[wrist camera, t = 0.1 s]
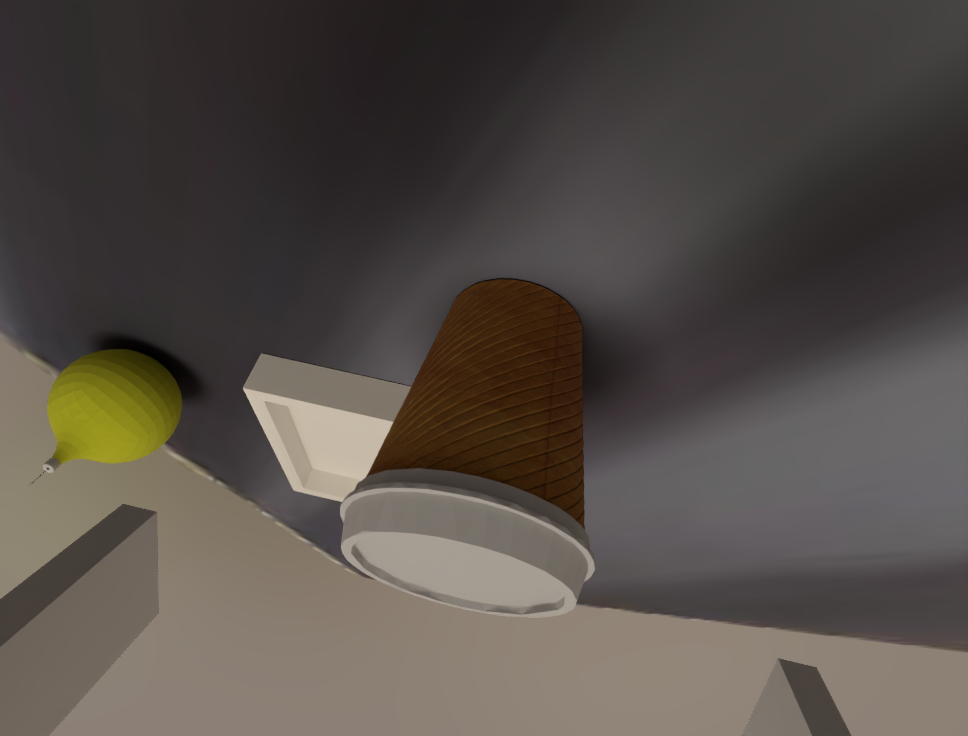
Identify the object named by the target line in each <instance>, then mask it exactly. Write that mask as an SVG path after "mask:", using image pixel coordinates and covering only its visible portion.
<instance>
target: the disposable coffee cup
mask: <svg viewBox="0 0 968 736" xmlns="http://www.w3.org/2000/svg"><path fill="white" fill-rule="evenodd" d="M582 335H583V333H582V325H581V322H580V319H579V317H578V315H577V313H576V312H575V310H574V309H573V308H572V307H571V306H570V305H569V304H568V303H567V302H566V301H565V300H564V299H562V298H561V297H559V296H558V295H556V294H555V293H553V292H552V291H550V290H548V289H546V288H544V287H541V286H538V285H535V284H532V283H529V282H524V281H518V280H506V279H498V280H491V281H484V282H481V283H477V284H475V285H473V286H471V287H469V288H467V289H466V290H464V291H463V292H462V293H461V294H460V295H459V296H458V297H457V298H456V299H455V301H454V303H453V305H452V307H451V309H450V311H449V313H448V315H447V317H446V319H445V321H444V323H443V325H442V327H441V329H440V331H439V333H438V335H437V337H436V339H435V341H434V343H433V345H432V347H431V349H430V351H429V353H428V355H427V357H426V359H425V361H424V363H423V365H422V366H421V369H420V371H419V373H418V375H417V376H416V378H415V381H414V383H413V385H412V386H411V388H410V391H409V393H408V395H407V396H406V398H405V400H404V402H403V405H402V407H401V408H400V410H399V412H398V414H397V416H396V418H395V420H394V422H393V424H392V426H391V428H390V430H389V432H388V434H387V436H386V438H385V440H384V442H383V444H382V446H381V448H380V450H379V452H378V455H377V457H376V458H375V460H374V462H373V464H372V466H371V468H370V470H369V472H368V474H367V476H366V478H364V479H363V480H362V481H360V482H359V483H357V485H356V487H355V490H354V491H352V492H350V493H349V494H348V495H347V496H346V497H345V498H344V500H343V502H342V504H341V507H340V516H341V518H342V520H343V522H344V526H343V534H342V541H341V548H342V553H343V555H344V556H345V558H346V559H347V560H348V561H349V562H350V563H351V564H352V565H354V566H355V567H356V568H358V569H359V570H361V571H362V572H364V573H365V574H367V575H369V576H371V577H373V578H374V579H376V580H378V581H380V582H382V583H384V584H386V585H389V586H392V587H394V588H396V589H399V590H401V591H404V592H406V593H409V594H412V595H415V596H418V597H421V598H424V599H427V600H431V601H434V602H437V603H441V604H445V605H449V606H453V607H457V608H460V609H465V610H470V611H476V612H481V613H486V614H494V615H501V616H514V617H531V618H535V617H551V616H556V615H562V614H564V613H567V612H569V611H571V610H572V609H573V608H574V607H575V605H576V602H577V599H578V597H579V594H580V591H581V588H582V585H583V583H584V581H586V580H587V579H589V578H590V577H591V576H592V574H593V572H594V570H595V560H594V554H593V552H592V551H591V550H590V544H589V537H588V535H587V533H586V532H585V527H584V479H583V477H584V467H583V461H584V454H583V446H584V442H583V398H582V397H583V387H582V384H583V377H582V372H583V367H582Z"/></svg>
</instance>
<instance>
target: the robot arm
mask: <svg viewBox="0 0 968 736" xmlns="http://www.w3.org/2000/svg"><path fill="white" fill-rule="evenodd" d="M157 539H158V538H157V512H155V511H151V510H146V509H142V508H138V507H134V506H130V505H125V504H122V505H121V506H120V507H118V508H117V509H116V510H115V511H113V512H112V513H111V514H109V515H108V516H107V517H106V518H105V519H103V520H102V521H101V522H99V523H98V524H97V525H95V526H94V527H93V528H92V529H90V530H89V531H88V532H86V533H85V534H84V535H82V536H81V537H80V538H79V539H77V540H76V541H75V542H73V543H72V544H71V545H70V546H69V547H67V548H66V549H64V550H63V551H62V552H61V553H59V554H58V555H57V556H55V557H54V558H53V559H52V560H50V561H49V562H48V563H47V564H45V565H44V566H43V567H41V568H40V569H39V570H37V571H36V572H35V573H34V574H32V575H31V576H30V577H28V578H27V579H26V580H25V581H23V582H22V583H21V584H19V585H18V586H17V587H15V588H14V589H13V590H12V591H10V592H9V593H8V594H6V595H5V596H4V597H3V598H1V599H0V736H49V735H50V734H51V733H52V732H53V731H54V729H55V728H56V727H57V726H58V725H59V724H60V722H62V720H63V719H64V718H65V717H66V716H67V715H68V714H69V713H70V711H71V710H72V709H73V708H74V707H75V706H76V705H77V704H78V703H79V701H80V700H81V699H82V698H83V697H84V696H85V695H86V694H87V693H88V691H89V690H90V689H91V688H92V687H93V686H94V685H95V683H96V682H97V681H98V680H99V679H100V678H101V677H102V676H103V675H104V674H105V672H106V671H107V670H108V669H109V668H110V667H111V666H112V665H113V664H114V662H115V661H116V660H117V659H118V658H119V657H120V656H121V654H122V653H123V652H124V651H125V650H126V649H127V648H128V647H129V646H130V645H131V643H132V642H133V641H134V640H135V639H136V638H137V637H138V636H139V634H140V633H141V632H142V631H143V630H144V629H145V628H146V627H147V626H148V624H149V623H150V622H151V621H152V620H153V619H154V618H155V616H156V615H157V614H158V612H159V608H158V607H159V605H158V548H157V547H158V540H157ZM742 736H851V734H850V732H849V730H848V728H847V726H846V725H845V722H844V721H843V719H842V717H841V715H840V713H839V711H838V709H837V707H836V705H835V703H834V701H833V699H832V697H831V695H830V693H829V691H828V689H827V687H826V685H825V683H824V681H823V679H822V677H821V675H820V673H819V671H818V670H817V668H816V667H812V666H808V665H804V664H799V663H795V662H791V661H787V660H783V659H777V661H776V664H775V666H774V668H773V670H772V672H771V674H770V677H769V679H768V681H767V683H766V685H765V687H764V689H763V692H762V693H761V696H760V698H759V700H758V702H757V705H756V706H755V709H754V710H753V713H752V715H751V717H750V719H749V721H748V723H747V725H746V728H745V730H744V732H743V734H742Z"/></svg>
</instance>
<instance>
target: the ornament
mask: <svg viewBox="0 0 968 736" xmlns="http://www.w3.org/2000/svg"><path fill="white" fill-rule="evenodd" d="M181 409H182V396H181V392H180V389H179V387H178V384H177V382H176V380H175V379H174V377H173V376H172V374H171V373H170V372H169V371H168V370H167V369H166V368H165V367H164V366H163V365H162V364H160V363H159V362H158V361H157V360H155V359H153V358H151V357H149V356H148V355H145V354H142V353H140V352H137V351H132V350H128V349H109V350H102V351H98V352H94V353H91V354H88V355H85V356H83V357H81V358H80V359H78V360H76V361H75V362H73V363H72V364H70V365H69V366H68V367H67V368H66V369H64V370H63V371H62V372H61V374H60V375H59V376H58V378H57V379H56V381H55V382H54V384H53V386H52V389H51V392H50V395H49V398H48V407H47V412H48V417H49V422H50V425H51V427H52V430H53V432H54V434H55V437H56V440H57V447H56V451H55V453H54V455H53V457H52V458H51V459H49V460H48V461H47V462H46V463H45V464H44V465H43V469H44V470H45V471H46V472H49V473H52V472H54V471H55V470H56V469H57V468H58V467H59V466H60V465H61V464H63V463H65V462H67V461H69V460H73V459H87V460H92V461H97V462H104V463H121V462H129V461H133V460H136V459H139V458H142V457H144V456H146V455H148V454H150V453H152V452H154V451H156V450H157V449H158V448H159V447H160V446H162V445H163V444H164V443H165V442H166V441H167V440H168V439H169V438H170V436H171V435H172V434H173V432H174V430H175V429H176V427H177V424H178V422H179V420H180V414H181ZM40 476H41V475H40ZM37 479H38V478H37Z"/></svg>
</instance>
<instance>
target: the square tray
mask: <svg viewBox="0 0 968 736" xmlns="http://www.w3.org/2000/svg"><path fill="white" fill-rule="evenodd" d="M410 388H411V386H406V385H402V384H397V383H393V382H388V381H384V380H379V379H375V378H370V377H366V376H361V375H357V374H352V373H348V372H343V371H339V370H334V369H330V368H325V367H321V366H316V365H312V364H307V363H303V362H298V361H294V360H289V359H285V358H280V357H275V356H271V355H266V354H262V353H261V355H260V357H259V359H258V361H257V362H256V364H255V366H254V368H253V370H252V372H251V374H250V375H249V377H248V379H247V381H246V383H245V385H244V387H243V389H244V391H245V393H246V395H247V397H248V399H249V401H250V403H251V405H252V407H253V410H254V412H255V414H256V416H257V418H258V420H259V422H260V424H261V426H262V428H263V430H264V432H265V434H266V436H267V438H268V440H269V442H270V444H271V446H272V448H273V450H274V452H275V454H276V456H277V458H278V460H279V462H280V464H281V466H282V468H283V470H284V472H285V474H286V476H287V478H288V480H289V482H290V484H291V486H292V488H293V490H294V491H298V492H302V493H306V494H310V495H315V496H319V497H323V498H327V499H332V500H336V501H340V502H343V500H344V498H345V497H346V496H347V495H348V494H349V493H350V492H352V491H354V490H355V487H356V485H357V483H359V482H360V481H362V480H363V479H364V478H366V476H367V474H368V472H369V470H370V468H371V466H372V464H373V462H374V460H375V458H376V457H377V455H378V452H379V450H380V448H381V446H382V444H383V442H384V440H385V438H386V436H387V434H388V432H389V430H390V428H391V426H392V424H393V422H394V420H395V418H396V416H397V414H398V412H399V410H400V408H401V407H402V405H403V402H404V400H405V398H406V396H407V395H408V393H409V391H410Z"/></svg>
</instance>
